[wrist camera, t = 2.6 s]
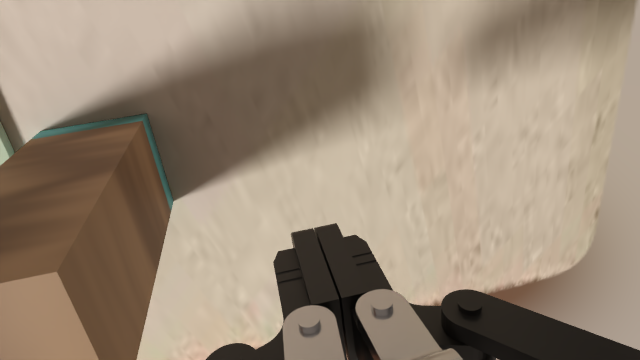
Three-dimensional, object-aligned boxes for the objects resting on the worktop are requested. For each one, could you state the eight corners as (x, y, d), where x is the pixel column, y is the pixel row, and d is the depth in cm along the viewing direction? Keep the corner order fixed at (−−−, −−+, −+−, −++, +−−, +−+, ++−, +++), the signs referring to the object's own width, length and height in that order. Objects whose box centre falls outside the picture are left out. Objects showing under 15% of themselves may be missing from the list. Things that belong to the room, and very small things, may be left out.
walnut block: (146, 113, 22) (56, 272, 10) (173, 201, 24) (123, 412, 13) (40, 131, 21) (-181, 319, 10) (77, 219, 24) (-67, 458, 12)
